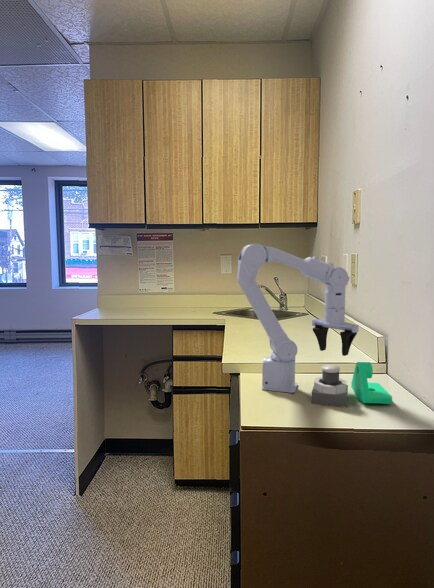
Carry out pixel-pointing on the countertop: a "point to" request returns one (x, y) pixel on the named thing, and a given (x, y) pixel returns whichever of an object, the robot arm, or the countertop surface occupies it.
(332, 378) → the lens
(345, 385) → the square octagon-collar plate
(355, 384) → the camera mount
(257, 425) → the countertop surface
